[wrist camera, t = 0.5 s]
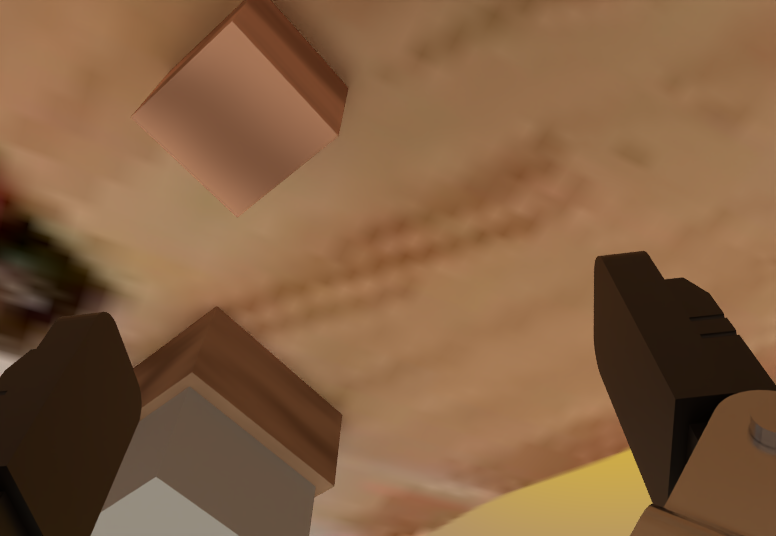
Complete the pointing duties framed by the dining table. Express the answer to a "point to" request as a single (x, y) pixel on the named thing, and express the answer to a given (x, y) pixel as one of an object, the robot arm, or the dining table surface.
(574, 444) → the dining table surface
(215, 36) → the terracotta cube
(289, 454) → the tower bottom
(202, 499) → the tower top
